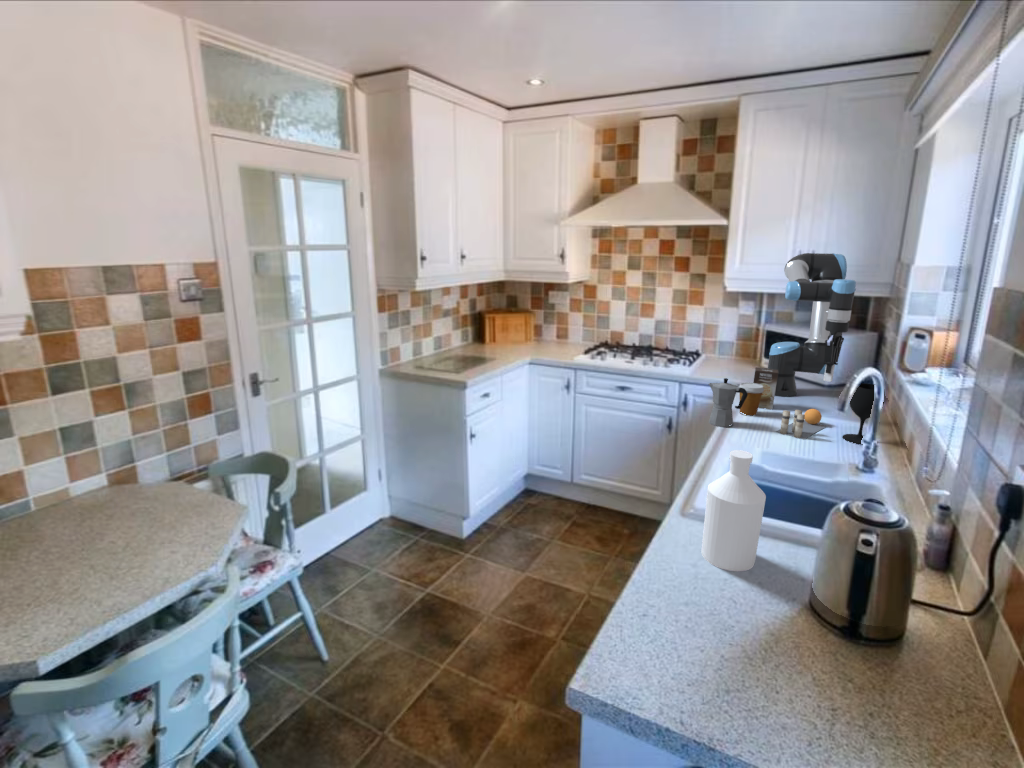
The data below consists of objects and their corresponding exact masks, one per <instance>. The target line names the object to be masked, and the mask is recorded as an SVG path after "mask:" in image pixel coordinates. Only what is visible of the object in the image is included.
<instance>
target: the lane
mask: <svg viewBox="0 0 1024 768" xmlns="http://www.w3.org/2000/svg"><path fill="white" fill-rule="evenodd" d="M792 427H793V422H791V423H790V424H789V425H788V431H787V434H784V436H791V437H793V438H795V437H794V433H793V432H792ZM827 427H828V425H826V424H822V423H820V422H819V423H817V424H809V423H807V422H806V421H805V419H804V424H803V430H802V436H801V438H799V439H801V440H806V439H807V438H809V437H812V436H813V435H814V434H816V433H818V432H820V431H821V430H823V429H825V428H827ZM775 433H778V434H781V433H780V429H777V430H776V431H775Z"/></svg>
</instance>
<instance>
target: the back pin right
mask: <svg viewBox="0 0 1024 768" xmlns="http://www.w3.org/2000/svg"><path fill="white" fill-rule="evenodd" d="M790 418H791V411H790V410H786V409H785V410H784V409H783V411H782V414H781V423H780V429H779V430H780V433H779V434H780V435H785V434H787V431H788V425H789V423H790Z"/></svg>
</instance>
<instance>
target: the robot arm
mask: <svg viewBox="0 0 1024 768" xmlns="http://www.w3.org/2000/svg"><path fill="white" fill-rule="evenodd" d="M847 265H848V264H847V259H846V257H845V255H844V254H841V253H839V254H838V253H815V252H813V253H812V252H807V253H801V254H798V255H795V256H794V257H792V258H790V259H789V260H788V261H787V263H786V264H785V266H784V276H785V277H786V278H787V280H788V282H787V283H786V287H785V296H784V297H785V300H789V301H794V302H795V301H796V302H798V301H799V302H812V308H811V309H812V310H811V317H810V323H809V324H810V325H809V327H810V328H809V335H808V338H807V340H806V341H805V342H804V343H803V345H802V346H801V345H800V343H799V342H796V341H782V342H781V341H780V342H776V343H773V344H772V345H771V346H770V349H769V354H768V355H769V356H768V357H769V358H768V363H767V369H774V370H778V378H777V384H776V390H775V396H778V397H794V396H796V395H797V391H798V390H797V389H798V388H797V384H796V377H795V376H796V373H797V372H800V373H807V374H817V375H820V374H821V375H823V381H824V382H828V383H832V382H833V378H834V373H835V366H838V364H839V363H838V361H839V359H840V353H841V350H842V347H843V343H844V340H845V337H843V333H847V332H848V330H849V326H850V321H851V316H852V309H853V304H854V298H855V292H856V289H857V288H856V286H857V281H856V280H854V279H846V277H847V273H848V272H847V269H848V266H847Z"/></svg>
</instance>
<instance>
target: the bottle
mask: <svg viewBox="0 0 1024 768" xmlns="http://www.w3.org/2000/svg"><path fill="white" fill-rule="evenodd" d="M753 458H754V457H753V454H752V453H751V452H748V451H746V450H740V449H735V450H734V449H733V450H731V451H730V452H729V460H730V464H729V471H727V472H726V473H725V474H723V475H722V476H720V477H719V478H717V479H715V480H713V481H711V482H710V483H709V484H708V485H707V491H706V493H707V494H706V502H705V513H704V520H703V521H704V523H703V532H702V542H701V549H700V550H701V551H700V552H701V555H702V557H703V559H704V560H705V561H707V563H709V564H711V565H712V566H714V567H717V568H719V569H721V570H725V571H731V572H745V571H748V570H749V571H750V570H751V569H752V568H753V567H754V566H755V563H756V558H757V557H756V556H757V551H758V545H759V539H760V534H761V528H762V522H763V517H764V516H763V515H764V510H765V505H766V499H767V495H766V493H765V492H764V491H763V490H762V489H761V487H759V485H757V483H756V482H755V481H754V480H753V478H752V477H751V476H750V474H749V473H750V466H751V463H752V462H753Z"/></svg>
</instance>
